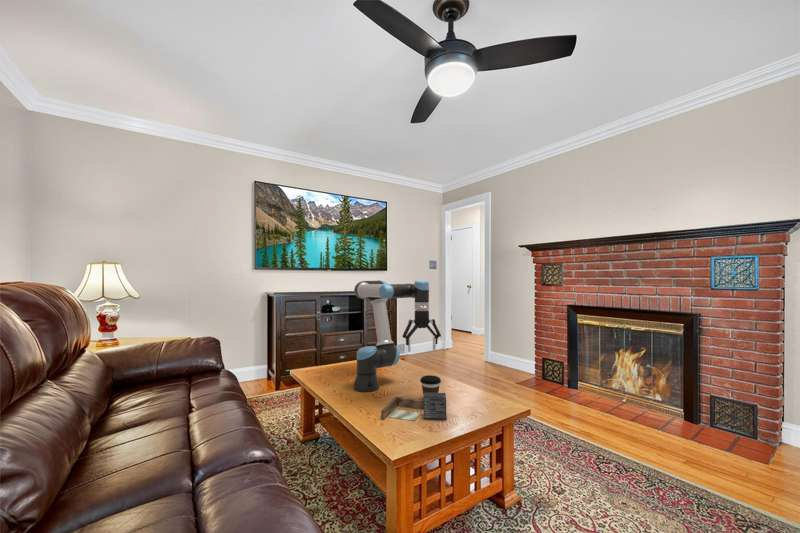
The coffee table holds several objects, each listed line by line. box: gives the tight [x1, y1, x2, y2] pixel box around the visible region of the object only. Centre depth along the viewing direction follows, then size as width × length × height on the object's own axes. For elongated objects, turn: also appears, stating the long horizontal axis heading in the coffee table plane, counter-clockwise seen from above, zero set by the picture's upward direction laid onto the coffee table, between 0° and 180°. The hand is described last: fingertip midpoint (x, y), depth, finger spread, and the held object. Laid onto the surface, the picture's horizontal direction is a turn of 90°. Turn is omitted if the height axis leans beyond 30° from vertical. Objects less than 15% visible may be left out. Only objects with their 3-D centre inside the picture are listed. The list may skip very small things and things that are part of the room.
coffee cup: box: [420, 375, 442, 396], centre depth 174 cm, size 11×11×12 cm
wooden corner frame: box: [380, 396, 424, 422], centre depth 158 cm, size 18×18×4 cm
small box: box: [423, 392, 447, 421], centre depth 155 cm, size 11×6×10 cm, turn 84°
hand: (421, 350), depth 172 cm, fingers open, 13 cm apart
